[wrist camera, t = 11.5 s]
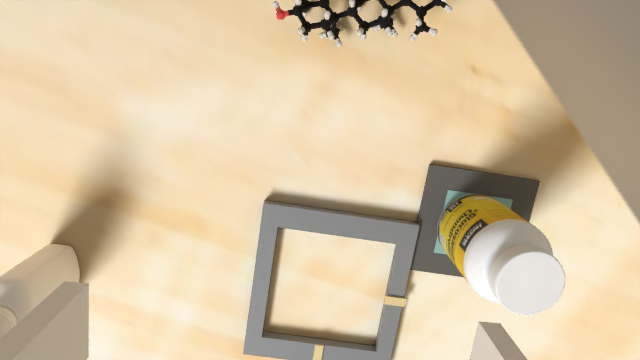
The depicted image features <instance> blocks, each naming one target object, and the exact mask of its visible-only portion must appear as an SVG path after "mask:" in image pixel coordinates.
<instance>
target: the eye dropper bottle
mask: <svg viewBox="0 0 640 360" xmlns="http://www.w3.org/2000/svg"><path fill="white" fill-rule="evenodd" d="M79 279H80V268H79V263H78V259H77V256H76V254H75V252H74V250H73V248H72V247H70V246H67V245H59V244H49V245H47V246H45V247H44V248H42V249H41V250H39V251H38V252H36V253H35V254H33V255H32V256H30V257H29V258H27V259H26V260H24V261H23V262H21V263H20V264H18V265H17V266H15V267H14V268H12V269H11V270H9V271H8V272H6V273H5V274H4V275H2V276H1V277H0V339H1V338H2V337H3V336H4V335H5V334H6V333H7V332H8V331H10V330H11V329H12V328H13V327H14V326H15V325H16V324H17V323H18V322H20V321H21V320H22V319H23V318H24V317H25V316H26V315H27V314H28V313H30V312H31V311H32V310H33V309H34V308H35V307H36V306H37V305H39V304H40V303H41V302H42V301H43V300H44V299H45V298H46V297H47V296H49V295H50V294H51V293H52V292H53V291H54V290H55V289H56V288H57V287H59V286H60V285H61V284H62V283H63V282H64V281H68V282H79Z"/></svg>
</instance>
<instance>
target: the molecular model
mask: <svg viewBox="0 0 640 360" xmlns="http://www.w3.org/2000/svg"><path fill="white" fill-rule="evenodd" d="M301 1H302V2H301ZM366 1H369V0H349V6H350V7H349V8H348V10H347V11H344V12H341V13H338V14H337V13H336V12H334V13H333V11H332V10H331V8H330V7H329V0H320V1H315V2H310V1H308V0H295V4H296V6H295V7H293V10H288V11H283V10H281V9H280V6H279V3H278V2H277V1H275V2H273V7H274V8H275V9H276V11H277V14H276V15H277V18H278V19H281V20H282V19H284V18H285V17H286V16H290V15H295V16H298V18H299V19H300V21H301V23H302V26H301V28H299V29H298V33H299V34H302V33H303V35H302V38H301V39H302V41H307V39H308V38H307V36H308V32H310V31H311V29H315V28H322V29H324V30H326V32H324V33H320V34H319V37H320V38H321V39H323V38H324V37H328V38H329V39H330V40H332V39H335V42H336V45H337V46H338V47H340V46H342V42H341V41H340V39H339V36H338V34H339V32H342V31H343V27H342V26H339V27H338V28H336V22H338V20H339V18H342V17H345V16H350V17H354V18H355V19H356V21H357V22H358V23H359V30H357V35H358V36H360V38H361V39H362V40H364V39H366V31H368V29H369V28H370V27H373V29H374V31H377V30H378V29H382V28H384V29H385V30H386V32H387V35H388V36H391V35H392V36H393V37H397V36H398V33H397V32H396V30H395V29H394V27H393V20H395V18H396V16H395V15H394V14H393V13H394V10H396V9H398V8H400V7H401V6H410V7H411V8H413V9H414V10H415V11H416V14H417V16H418V19H416V21H415V24H416V30H415V31H414V32H413V34H412V35H411V36H410V37H409V38H410V40H411V41H414V40H415V38H416V37H417V35H418V34H419V33H420V32H423V31H425V32H429V33H431V34H432V35H436V34H437V29H432V28H430V27H428V26H427V25H426V23H425V22H424V16H425V15H426V13H427V11H428V10H429V9H431V8H433V7H434V6H442V7H443V8H444V9H445V10H446V11H447V12H448V13H449V12H451V11H452V7H451V6H449V5H448V4H446V3H445V1H447V0H433V1H432V2H431V3H429V4H427V5H426V6H424V7H423V6H421V7H419V6H417V5H416V4H415V3H413V2H412V0H401V1H400V2H398V3H397V4H395V5H393V6H390V5H387V3H386V2H385V1H384V0H378V1H379V2H380V4H381V5H382V6H383V8H384V9H383V10H382V12H381V13H382V15H381V16H379V18H378V19H377V20H374V21H372V22H369V23H368V22H366V21H363V20H362V19H361V18H360V16H359V15H358V14H357V13H358V11H361V10H362V8H361V5H363V4H364V2H366ZM300 5H301V6H300ZM318 6H320V7H321V8H325V9H326V12H325V13H324V19H323V20H321V22H318V23H312V24H310V23H309V22H308V21H307V22H306V20H305V17H306V15H307V14H306V12H307V10H309V9H310V7H318ZM331 24H332V28H331V29H330V26H331Z"/></svg>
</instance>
